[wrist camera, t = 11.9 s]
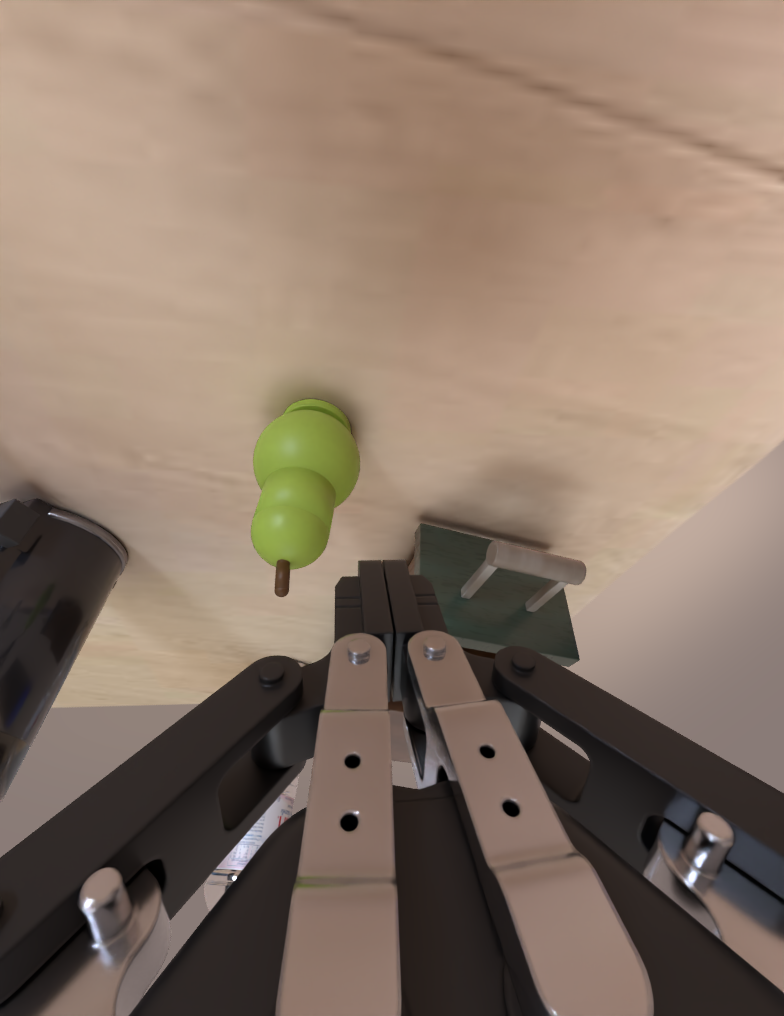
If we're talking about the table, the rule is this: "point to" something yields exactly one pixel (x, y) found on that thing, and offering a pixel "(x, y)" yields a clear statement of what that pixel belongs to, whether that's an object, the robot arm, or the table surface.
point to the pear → (301, 484)
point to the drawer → (499, 593)
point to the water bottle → (249, 844)
